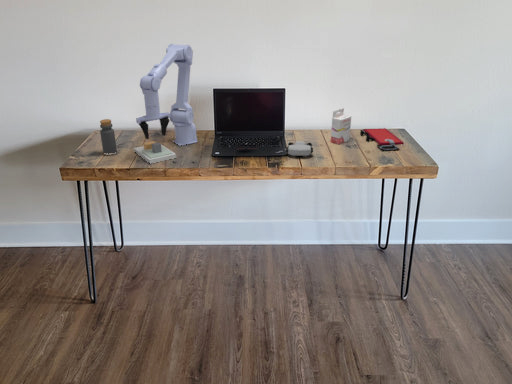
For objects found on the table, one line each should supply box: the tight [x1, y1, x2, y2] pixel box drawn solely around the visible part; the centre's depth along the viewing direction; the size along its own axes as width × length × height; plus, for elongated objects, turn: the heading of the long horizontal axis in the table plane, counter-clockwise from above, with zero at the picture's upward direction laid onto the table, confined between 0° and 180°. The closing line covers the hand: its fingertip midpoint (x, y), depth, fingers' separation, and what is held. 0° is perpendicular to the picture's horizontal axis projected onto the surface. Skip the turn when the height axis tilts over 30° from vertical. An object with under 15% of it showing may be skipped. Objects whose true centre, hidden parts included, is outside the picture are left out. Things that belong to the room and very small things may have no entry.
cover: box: [142, 141, 173, 159], centre depth 208 cm, size 10×10×4 cm
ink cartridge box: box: [330, 107, 352, 145], centre depth 224 cm, size 9×5×15 cm, turn 135°
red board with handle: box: [359, 127, 404, 151], centre depth 227 cm, size 30×3×15 cm
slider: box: [142, 140, 157, 150], centre depth 214 cm, size 3×5×2 cm, turn 125°
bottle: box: [99, 118, 118, 154], centre depth 212 cm, size 6×6×15 cm
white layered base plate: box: [132, 144, 177, 165], centre depth 212 cm, size 18×12×2 cm, turn 34°
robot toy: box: [284, 140, 315, 157], centre depth 212 cm, size 12×4×15 cm
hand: (155, 136), depth 206 cm, fingers open, 7 cm apart
